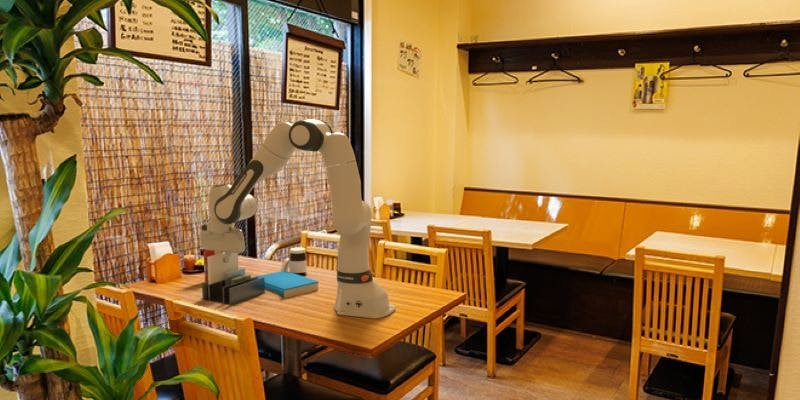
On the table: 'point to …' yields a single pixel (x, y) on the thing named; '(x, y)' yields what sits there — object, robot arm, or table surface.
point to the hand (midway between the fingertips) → (223, 262)
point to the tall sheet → (220, 266)
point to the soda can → (206, 254)
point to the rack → (234, 288)
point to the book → (288, 283)
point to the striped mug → (296, 262)
